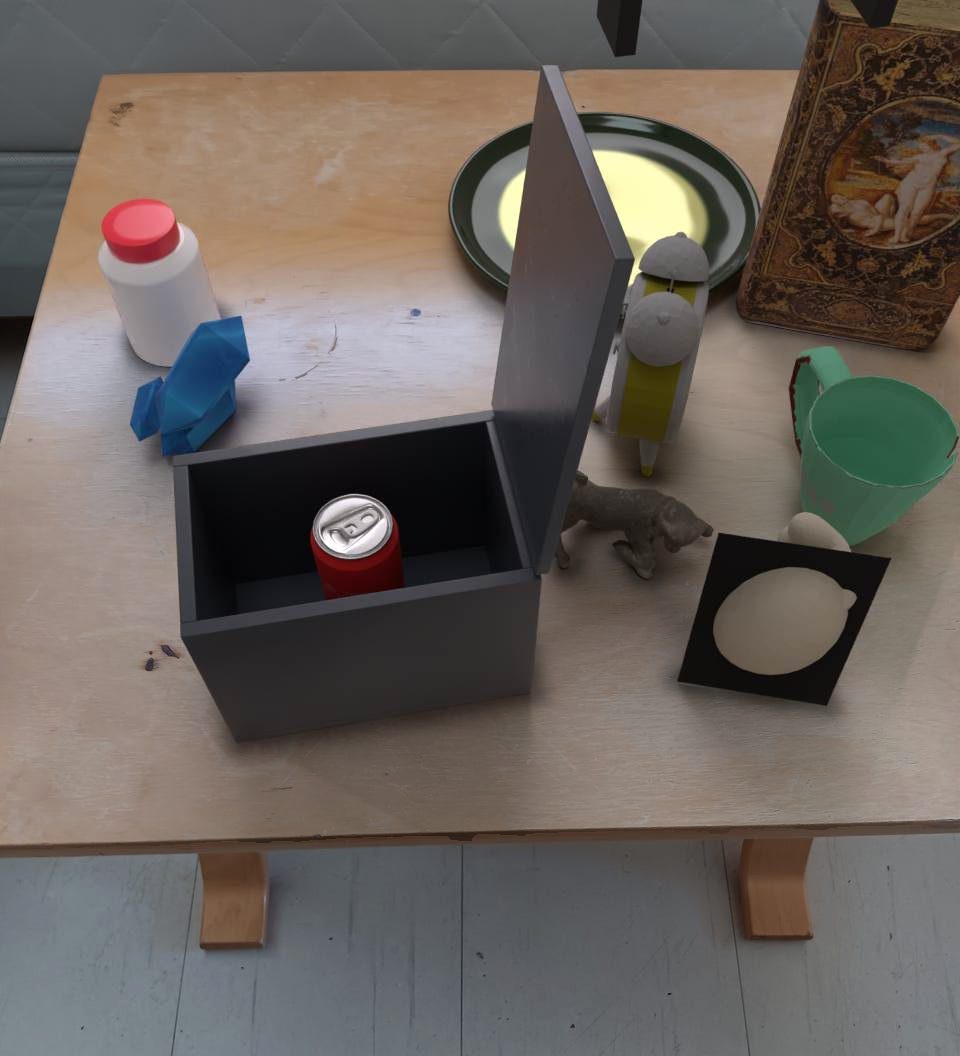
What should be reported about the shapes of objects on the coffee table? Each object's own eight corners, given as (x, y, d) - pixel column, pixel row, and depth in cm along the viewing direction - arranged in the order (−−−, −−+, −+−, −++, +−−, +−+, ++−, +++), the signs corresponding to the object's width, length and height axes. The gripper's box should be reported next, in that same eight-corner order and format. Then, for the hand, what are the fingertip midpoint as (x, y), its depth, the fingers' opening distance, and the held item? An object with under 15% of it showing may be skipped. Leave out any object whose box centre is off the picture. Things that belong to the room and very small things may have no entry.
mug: (929, 555, 72) (990, 466, 64) (808, 590, 71) (853, 504, 62) (833, 412, 79) (876, 314, 71) (721, 441, 78) (751, 344, 69)
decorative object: (680, 609, 72) (819, 630, 72) (675, 712, 65) (830, 737, 64) (718, 462, 64) (877, 484, 63) (718, 562, 56) (897, 589, 55)
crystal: (86, 400, 71) (177, 271, 74) (139, 459, 79) (219, 341, 82) (170, 439, 69) (259, 305, 72) (215, 495, 77) (294, 373, 80)
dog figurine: (534, 562, 72) (539, 499, 66) (552, 501, 75) (559, 434, 68) (697, 600, 70) (719, 538, 64) (710, 536, 73) (732, 471, 67)
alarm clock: (664, 489, 75) (703, 339, 62) (576, 473, 76) (596, 322, 63) (684, 380, 81) (723, 221, 68) (602, 366, 82) (625, 206, 69)
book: (732, 319, 84) (818, 12, 63) (739, 277, 87) (825, -32, 65) (929, 354, 82) (1089, 48, 61) (931, 309, 85) (1085, 1, 63)
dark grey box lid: (615, 260, 37) (636, 259, 37) (540, 64, 43) (558, 64, 43) (535, 575, 54) (549, 574, 54) (490, 403, 61) (503, 403, 61)
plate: (752, 354, 82) (759, 331, 80) (422, 317, 85) (421, 294, 82) (758, 148, 96) (765, 124, 94) (475, 121, 98) (475, 96, 96)
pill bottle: (192, 289, 86) (156, 175, 77) (240, 338, 83) (209, 225, 74) (113, 329, 84) (66, 217, 74) (160, 381, 81) (117, 271, 71)
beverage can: (319, 625, 68) (290, 520, 58) (380, 585, 70) (362, 476, 60) (364, 676, 66) (342, 578, 56) (425, 634, 68) (415, 530, 58)
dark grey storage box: (236, 743, 65) (180, 637, 53) (224, 582, 71) (172, 455, 59) (531, 692, 67) (542, 579, 55) (494, 540, 73) (497, 408, 61)
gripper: (454, -1412, 14) (471, 115, 34) (1776, -1379, 16) (1064, 46, 36) (381, -1344, 18) (434, -3, 37) (1463, -1324, 20) (974, -60, 39)
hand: (742, 20), depth 36 cm, fingers open, 9 cm apart
